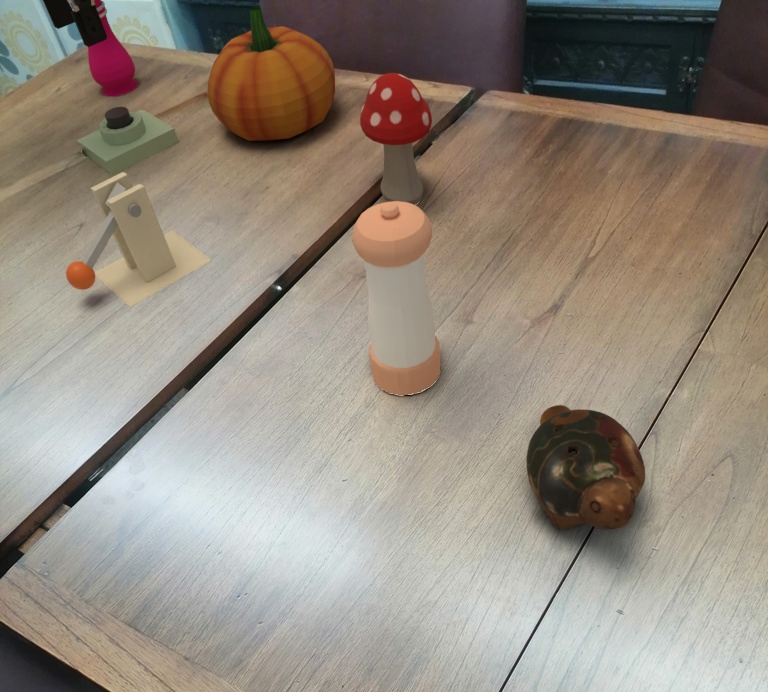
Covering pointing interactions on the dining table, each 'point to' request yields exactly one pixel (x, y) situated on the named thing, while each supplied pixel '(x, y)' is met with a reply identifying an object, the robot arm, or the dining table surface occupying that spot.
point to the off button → (118, 118)
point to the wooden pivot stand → (142, 245)
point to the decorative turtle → (584, 469)
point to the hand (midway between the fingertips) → (81, 33)
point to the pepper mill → (111, 61)
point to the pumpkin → (271, 82)
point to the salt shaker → (398, 296)
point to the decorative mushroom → (397, 133)
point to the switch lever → (93, 250)
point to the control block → (127, 142)
